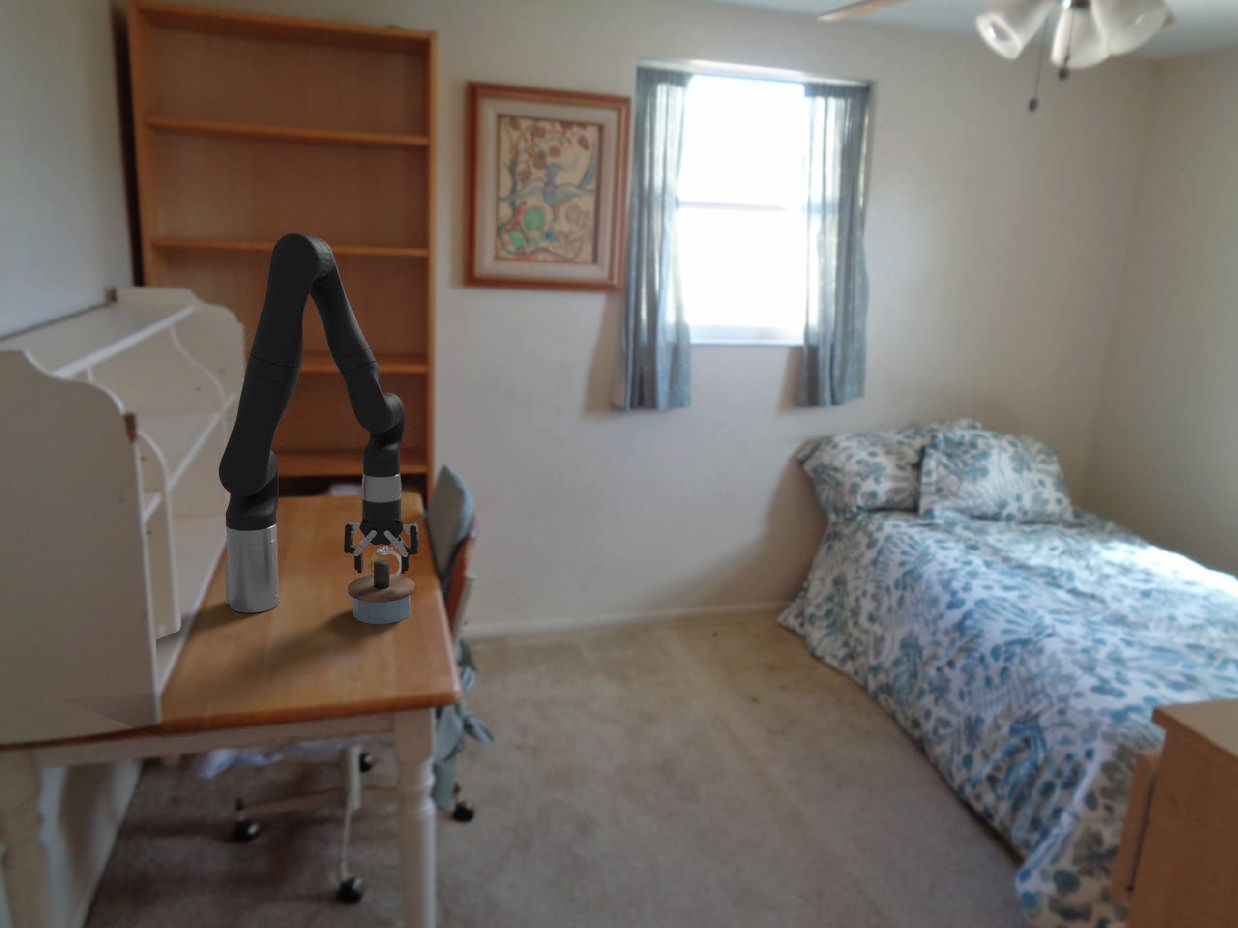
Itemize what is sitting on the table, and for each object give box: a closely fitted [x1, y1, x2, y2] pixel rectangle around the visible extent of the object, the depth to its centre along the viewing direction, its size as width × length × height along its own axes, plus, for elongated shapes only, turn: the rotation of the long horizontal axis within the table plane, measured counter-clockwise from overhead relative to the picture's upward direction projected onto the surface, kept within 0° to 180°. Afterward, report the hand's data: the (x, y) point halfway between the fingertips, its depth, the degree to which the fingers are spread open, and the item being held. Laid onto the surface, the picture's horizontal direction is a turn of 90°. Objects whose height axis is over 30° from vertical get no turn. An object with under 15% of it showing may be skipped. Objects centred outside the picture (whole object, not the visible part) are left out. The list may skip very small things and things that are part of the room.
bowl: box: [352, 594, 412, 625], centre depth 174 cm, size 11×11×5 cm
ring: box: [369, 545, 402, 575], centre depth 190 cm, size 7×3×8 cm, turn 98°
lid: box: [347, 559, 416, 602], centre depth 173 cm, size 13×13×6 cm
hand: (381, 572), depth 173 cm, fingers open, 8 cm apart
